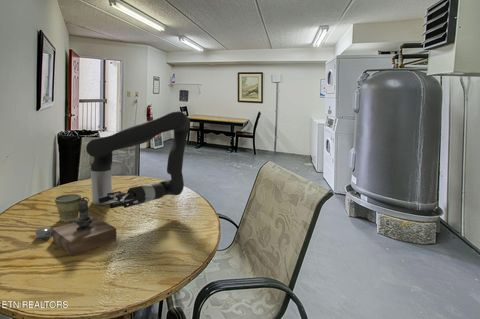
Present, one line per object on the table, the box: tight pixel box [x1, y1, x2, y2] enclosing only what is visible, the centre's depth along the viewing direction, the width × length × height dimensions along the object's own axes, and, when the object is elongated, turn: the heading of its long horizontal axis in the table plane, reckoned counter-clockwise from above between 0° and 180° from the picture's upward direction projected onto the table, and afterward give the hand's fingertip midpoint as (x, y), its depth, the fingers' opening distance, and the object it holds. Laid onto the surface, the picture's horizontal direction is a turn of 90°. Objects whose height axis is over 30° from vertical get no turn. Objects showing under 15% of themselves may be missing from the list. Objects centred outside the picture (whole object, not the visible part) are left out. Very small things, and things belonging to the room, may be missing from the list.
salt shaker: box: [74, 196, 94, 231], centre depth 110 cm, size 6×6×12 cm
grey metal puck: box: [35, 226, 53, 240], centre depth 114 cm, size 5×5×3 cm
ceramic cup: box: [54, 193, 90, 223], centre depth 131 cm, size 13×10×10 cm
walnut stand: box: [51, 216, 118, 257], centre depth 112 cm, size 16×16×5 cm
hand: (104, 203), depth 116 cm, fingers open, 8 cm apart
